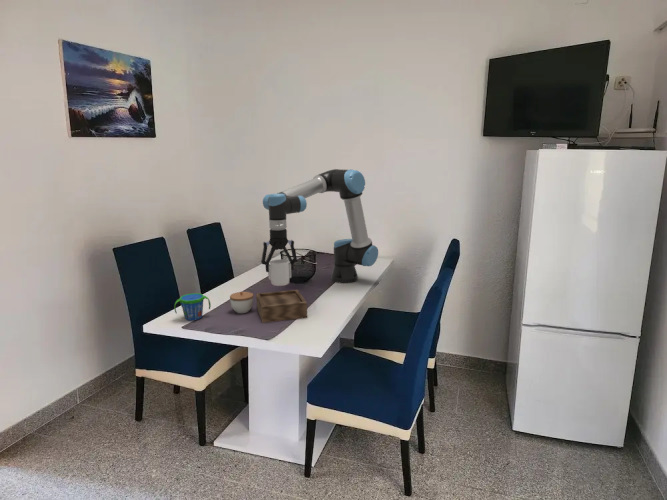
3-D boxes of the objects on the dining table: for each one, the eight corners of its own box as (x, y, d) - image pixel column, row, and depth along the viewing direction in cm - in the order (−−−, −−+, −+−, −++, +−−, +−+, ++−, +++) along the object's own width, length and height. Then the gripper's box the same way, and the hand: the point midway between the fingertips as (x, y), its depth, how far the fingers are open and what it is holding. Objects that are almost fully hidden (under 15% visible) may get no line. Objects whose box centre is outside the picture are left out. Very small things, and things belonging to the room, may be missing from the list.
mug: (280, 278, 227) (279, 256, 224) (296, 279, 224) (295, 258, 221) (267, 285, 216) (266, 262, 213) (284, 287, 213) (283, 264, 210)
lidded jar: (228, 309, 228) (227, 290, 226) (250, 306, 232) (249, 287, 230) (233, 316, 219) (232, 296, 217) (256, 312, 223) (255, 293, 221)
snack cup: (174, 324, 210) (172, 301, 208) (176, 316, 220) (174, 294, 218) (211, 320, 214) (209, 298, 212) (211, 312, 224) (209, 291, 222)
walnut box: (298, 303, 235) (297, 289, 233) (307, 317, 216) (306, 302, 214) (256, 308, 229) (256, 293, 228) (262, 322, 210) (261, 307, 209)
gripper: (254, 231, 208) (257, 282, 212) (303, 228, 213) (304, 278, 218) (252, 228, 215) (255, 277, 220) (299, 226, 220) (301, 273, 225)
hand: (279, 277), depth 219 cm, fingers closed on mug, 9 cm apart
